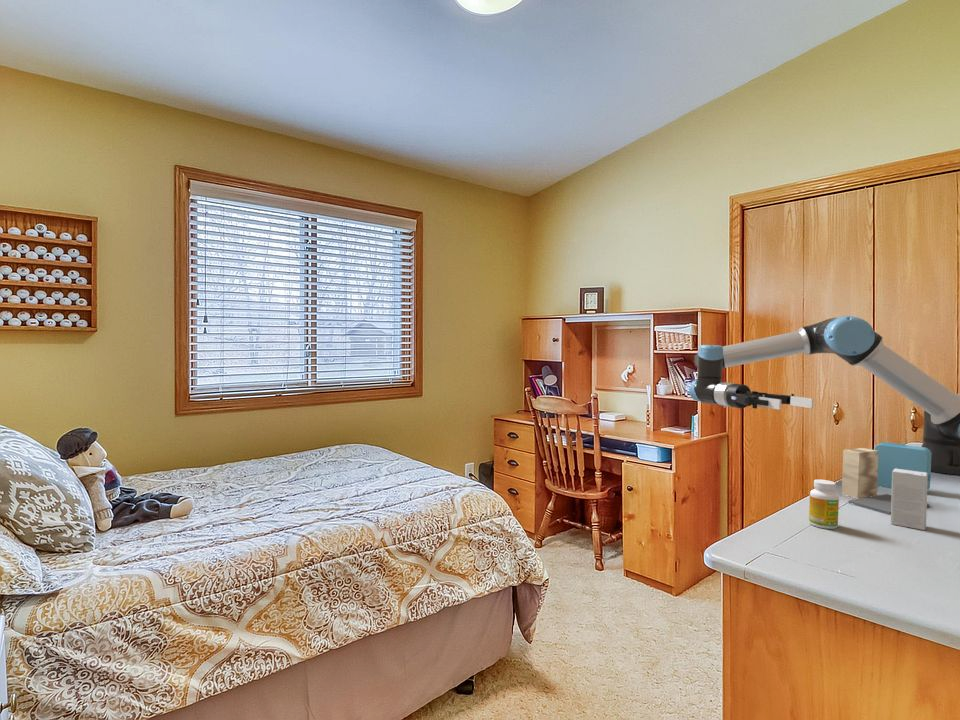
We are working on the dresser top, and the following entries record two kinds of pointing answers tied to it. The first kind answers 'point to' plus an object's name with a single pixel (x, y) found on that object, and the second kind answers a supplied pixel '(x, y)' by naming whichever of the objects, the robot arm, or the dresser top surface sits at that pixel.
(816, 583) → the dresser top surface
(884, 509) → the charcoal mat
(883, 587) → the dresser top surface
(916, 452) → the data package
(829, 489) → the supplement bottle
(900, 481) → the skincare box
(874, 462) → the maple block
